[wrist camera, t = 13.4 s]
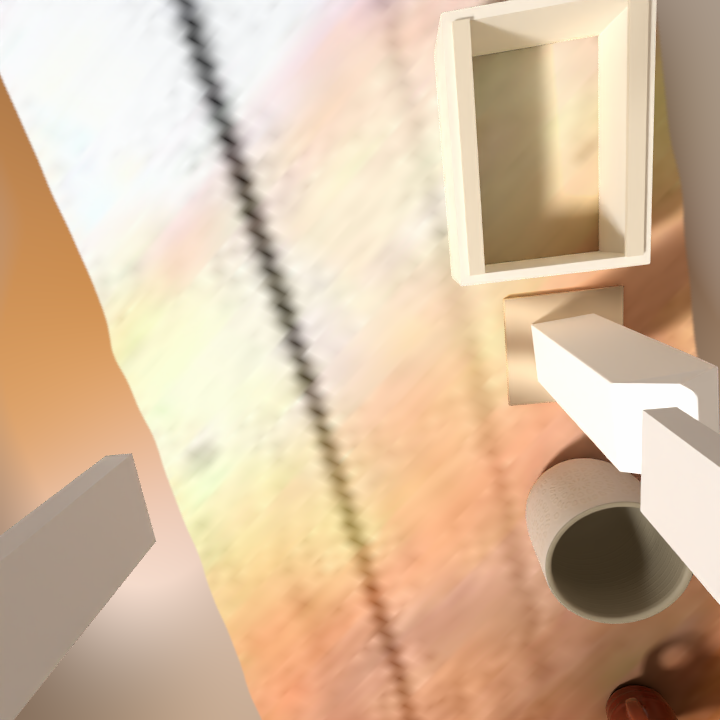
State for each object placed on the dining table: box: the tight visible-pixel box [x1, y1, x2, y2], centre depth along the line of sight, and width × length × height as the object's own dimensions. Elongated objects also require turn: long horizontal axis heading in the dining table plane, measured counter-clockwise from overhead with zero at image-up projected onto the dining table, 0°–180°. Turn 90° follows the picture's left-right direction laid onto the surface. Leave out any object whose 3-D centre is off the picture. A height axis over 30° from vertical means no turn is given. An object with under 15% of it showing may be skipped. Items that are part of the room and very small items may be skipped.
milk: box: [531, 313, 720, 474], centre depth 36 cm, size 6×6×22 cm
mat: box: [503, 286, 624, 406], centre depth 47 cm, size 11×11×1 cm
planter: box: [526, 458, 693, 624], centre depth 46 cm, size 12×12×11 cm
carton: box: [434, 0, 657, 286], centre depth 39 cm, size 20×15×8 cm
